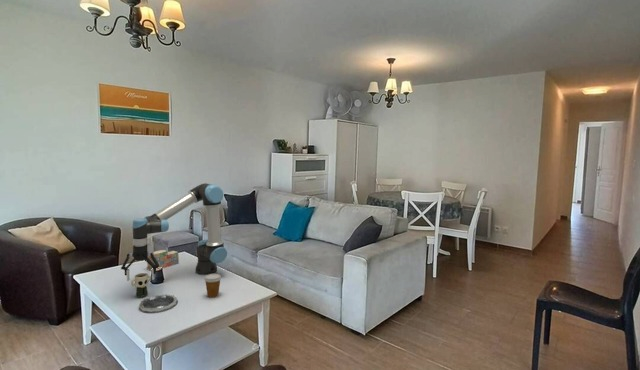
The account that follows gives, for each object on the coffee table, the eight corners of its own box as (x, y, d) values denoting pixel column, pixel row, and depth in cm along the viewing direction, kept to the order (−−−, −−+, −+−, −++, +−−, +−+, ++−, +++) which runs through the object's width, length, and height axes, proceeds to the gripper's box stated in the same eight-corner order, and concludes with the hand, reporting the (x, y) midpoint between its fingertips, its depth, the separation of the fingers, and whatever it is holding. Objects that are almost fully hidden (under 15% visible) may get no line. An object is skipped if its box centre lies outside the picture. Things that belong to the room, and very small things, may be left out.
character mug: (134, 300, 196) (133, 279, 195) (129, 297, 201) (129, 275, 200) (153, 295, 204) (153, 274, 203) (149, 291, 209) (148, 271, 208)
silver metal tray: (180, 295, 204) (180, 293, 204) (174, 311, 185) (174, 308, 185) (143, 298, 199) (143, 295, 199) (134, 314, 180) (134, 311, 180)
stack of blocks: (173, 262, 264) (173, 246, 263) (178, 263, 261) (178, 248, 260) (147, 269, 247) (146, 253, 245) (152, 271, 243) (151, 255, 242)
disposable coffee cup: (224, 293, 209) (224, 274, 208) (214, 299, 200) (214, 280, 199) (211, 291, 212) (211, 272, 211) (201, 297, 203) (201, 277, 202)
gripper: (164, 242, 206) (164, 276, 208) (118, 243, 200) (119, 278, 202) (161, 245, 199) (162, 280, 201) (114, 247, 193) (115, 283, 195)
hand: (140, 279), depth 202 cm, fingers open, 13 cm apart
